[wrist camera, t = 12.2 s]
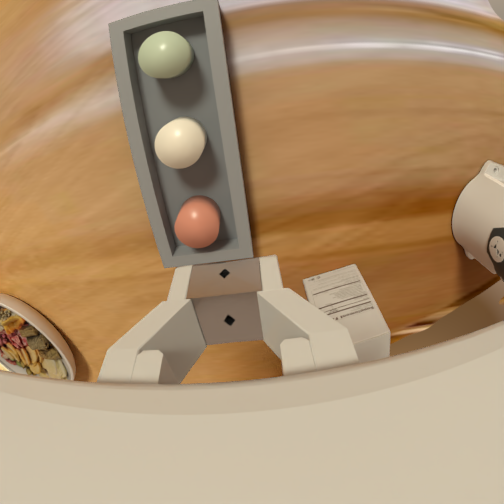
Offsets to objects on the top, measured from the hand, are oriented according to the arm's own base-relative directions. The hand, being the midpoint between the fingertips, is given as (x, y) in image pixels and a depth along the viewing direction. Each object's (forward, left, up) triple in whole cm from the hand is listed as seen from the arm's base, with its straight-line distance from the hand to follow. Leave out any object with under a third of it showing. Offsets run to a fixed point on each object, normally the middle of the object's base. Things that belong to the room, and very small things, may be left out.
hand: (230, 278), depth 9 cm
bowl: (+55, +33, -30) cm, 71 cm away
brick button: (+6, +10, -28) cm, 30 cm away
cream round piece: (+6, 0, -28) cm, 28 cm away
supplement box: (-12, +27, -29) cm, 42 cm away
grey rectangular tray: (+6, 0, -29) cm, 30 cm away
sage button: (+6, -10, -28) cm, 30 cm away
